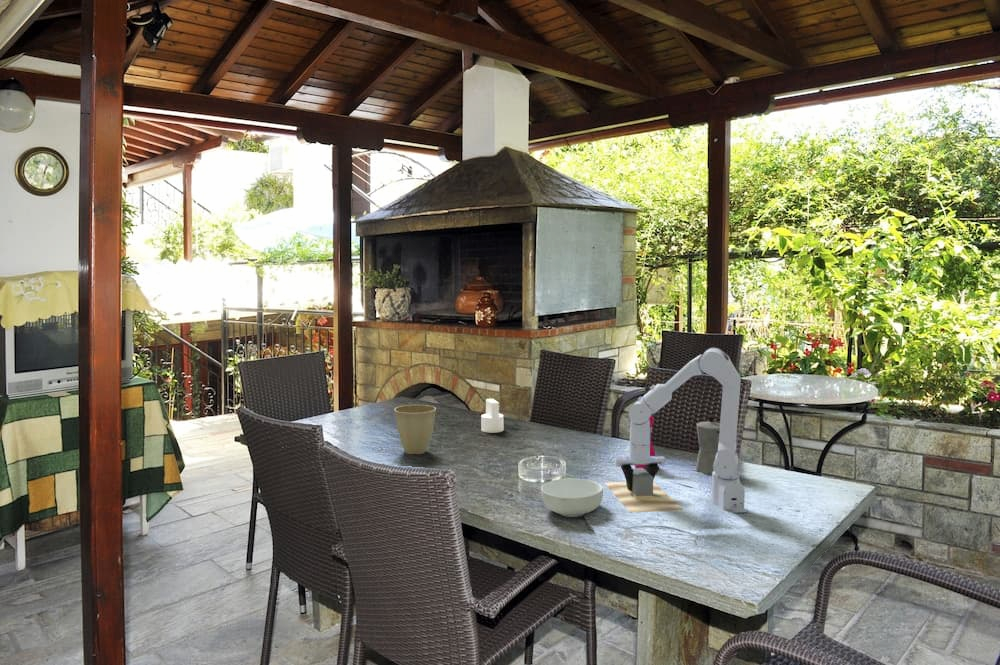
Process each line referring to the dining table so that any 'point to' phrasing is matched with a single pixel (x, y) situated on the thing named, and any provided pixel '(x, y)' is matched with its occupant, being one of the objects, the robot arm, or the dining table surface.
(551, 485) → the cereal bowl
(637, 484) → the block
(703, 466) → the coffeepot
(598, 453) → the dining table surface
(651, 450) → the pepper mill
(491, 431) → the base with upright slab
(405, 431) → the plant pot
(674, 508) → the birch board
